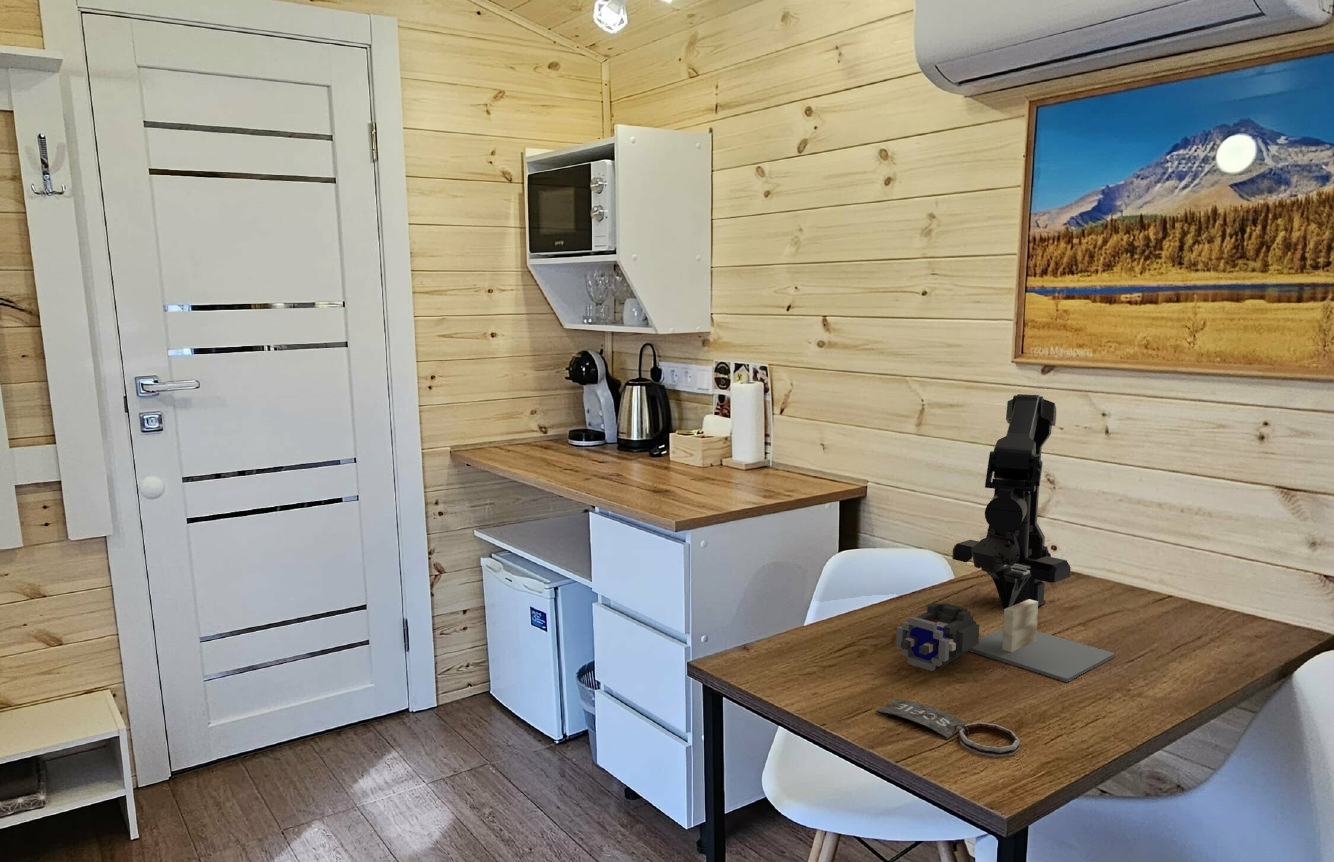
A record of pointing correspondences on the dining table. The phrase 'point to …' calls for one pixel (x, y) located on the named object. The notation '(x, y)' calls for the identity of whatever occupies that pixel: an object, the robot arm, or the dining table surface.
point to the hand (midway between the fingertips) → (1006, 608)
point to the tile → (1020, 625)
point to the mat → (1045, 655)
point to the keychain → (952, 726)
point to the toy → (937, 636)
